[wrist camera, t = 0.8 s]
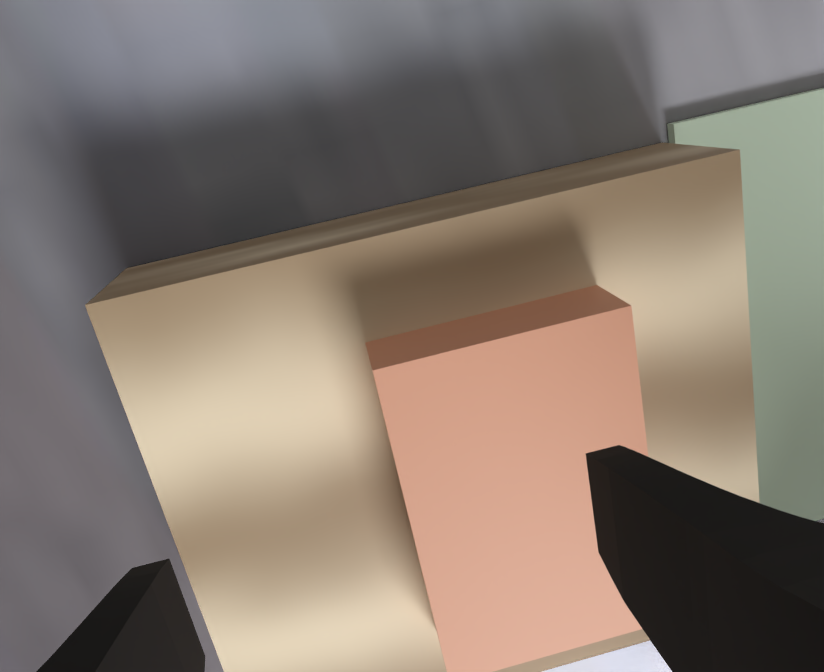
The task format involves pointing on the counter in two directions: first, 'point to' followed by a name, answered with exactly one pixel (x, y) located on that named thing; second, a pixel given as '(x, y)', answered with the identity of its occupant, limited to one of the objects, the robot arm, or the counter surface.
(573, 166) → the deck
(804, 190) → the mat
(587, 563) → the tile
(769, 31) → the counter surface
